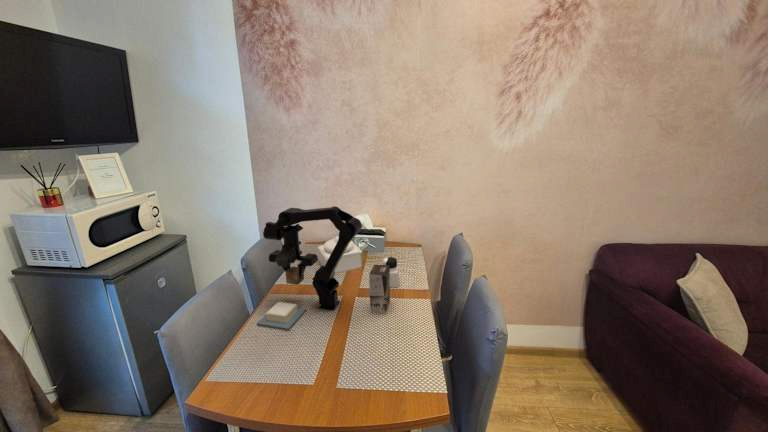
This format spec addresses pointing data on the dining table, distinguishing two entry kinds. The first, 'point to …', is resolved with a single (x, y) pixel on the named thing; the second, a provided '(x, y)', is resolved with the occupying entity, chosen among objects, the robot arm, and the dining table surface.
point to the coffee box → (379, 288)
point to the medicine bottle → (392, 270)
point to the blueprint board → (282, 325)
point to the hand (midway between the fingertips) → (295, 277)
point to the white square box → (348, 260)
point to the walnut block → (293, 276)
